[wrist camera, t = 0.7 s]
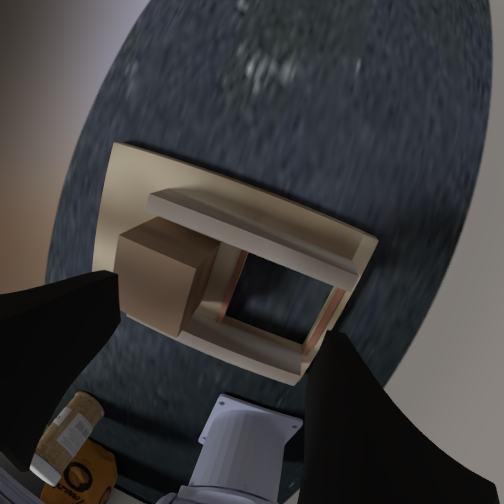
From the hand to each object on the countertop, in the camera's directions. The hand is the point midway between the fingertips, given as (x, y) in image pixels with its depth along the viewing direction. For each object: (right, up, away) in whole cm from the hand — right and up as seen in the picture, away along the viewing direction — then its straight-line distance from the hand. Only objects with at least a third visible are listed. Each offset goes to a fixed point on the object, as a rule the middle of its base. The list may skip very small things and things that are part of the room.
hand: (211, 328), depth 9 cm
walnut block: (-3, +2, +10) cm, 10 cm away
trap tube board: (-1, +2, +10) cm, 11 cm away
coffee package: (-25, -32, +26) cm, 49 cm away
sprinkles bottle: (-19, -17, +20) cm, 32 cm away
